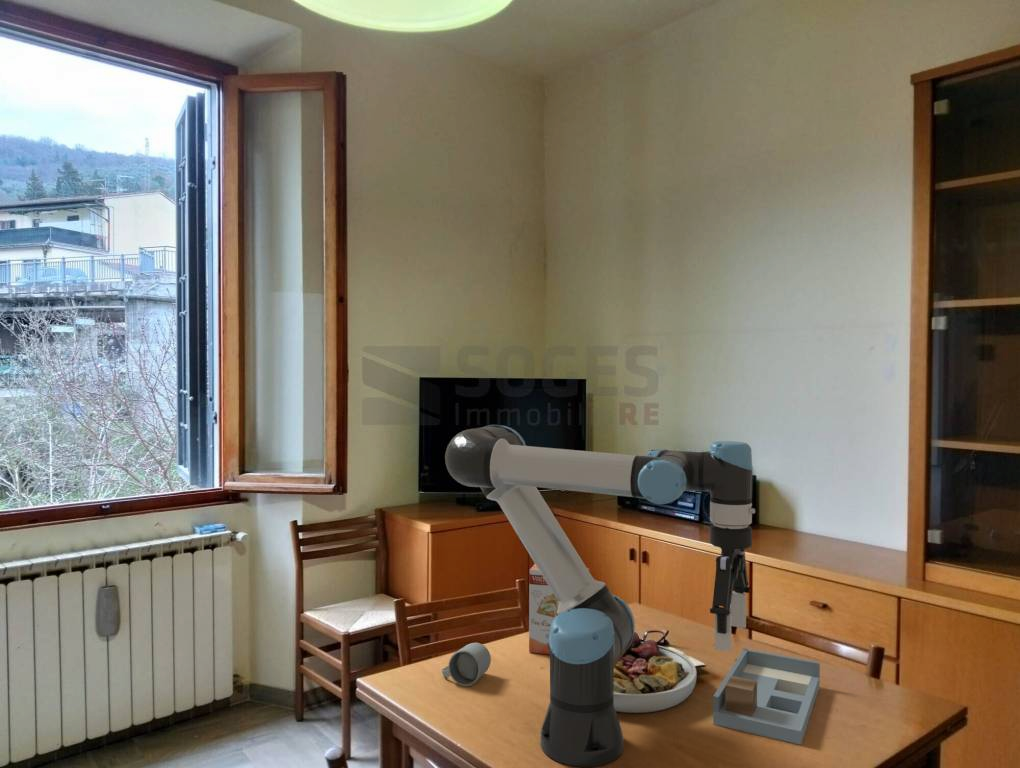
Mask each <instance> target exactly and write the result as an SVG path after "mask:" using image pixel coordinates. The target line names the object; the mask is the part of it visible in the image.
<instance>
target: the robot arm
mask: <svg viewBox="0 0 1020 768" xmlns="http://www.w3.org/2000/svg"><path fill="white" fill-rule="evenodd" d="M752 454H753V453H752V448H751V446H750V445H749V444H748V443H746V442H743V441H735V440H734V441H733V440H729V441H728V440H726V441H725V440H724V441H723V440H722V441H721V440H720V441H713V442H711V443H710V445H709V450H707V451H687V450H685V451H684V450H682V451H681V450H668V449H660V450H653V449H652V450H650V451H648V452H647V454H646V455H635V454H623V453H622V454H621V453H611V452H599V451H587V450H580V449H579V450H575V449H568V448H567V449H566V448H553V447H541V446H530V445H526V442H525V440H524V438H523V437H522V436H521V434H520V433H519V432H518V431H517V430H515V429H514V428H512V427H509V426H506V425H498V424H489V425H485V426H483V427H475V428H470V429H469V428H468V429H465V430H462V431H461V432H458V433H457V434H456V435H455V436H453V438H452V439H451V440H450V442H449V443H448V444H447V447H446V450H445V455H444V459H445V461H444V462H445V465H446V470H447V471H448V473H449V475H450V476H451V477H452V478H453V479H454V480H455V481H456V482H457V483H459V484H461V485H463V486H466V487H470V488H471V487H472V488H473V487H474V488H480V489H481V491H482V493H483V495H484V496H485V497H486V499H487V500H490V501H494V502H496V503H497V504H498V505H499V507H500V509H501V510H502V512H503V513H504V516H505V517H506V519H507V520H508V521H509V523H510V525H511V526H512V528H513V530H514V531H515V534H516V535H517V537H518V538H519V540H520V541H521V543H522V545H523V546H524V548H525V549H526V551H527V552H528V554H529V557H530V558H531V559H532V561H533V563H534V564H536V566H537V567H538V569H539V571H540V572H541V574H542V576H543V577H544V579H545V581H546V582H547V584H548V585H549V587H550V589H551V590H552V592H553V594H554V595H555V597H556V599H557V600H558V603H559V605H558V610H557V615H558V616H557V617H556V618H555V619H554V620H553V622H552V624H551V629H550V635H549V646H550V655H549V703H548V707H547V709H546V713H545V715H544V720H543V722H542V725H541V728H540V747H541V750H542V751H543V753H544V754H545V755H546V756H548V757H549V758H550V759H552V760H554V761H555V762H558V763H561V764H564V765H568V766H573V767H583V768H585V767H586V768H587V767H589V768H590V767H598V766H604V765H607V764H609V763H612V762H613V761H616V760H617V759H618V758H619V757H621V755H622V754H623V750H624V734H623V729H622V727H621V724H620V720H619V717H618V715H617V711H615V707H614V667H615V666H616V664H617V663H618V661H619V660H620V658H621V657H622V655H623V654H624V653H625V652H626V650H627V649H628V648H629V646H630V644H631V642H632V638H633V635H634V634H635V630H636V626H635V618H634V614H633V612H632V610H631V608H630V606H629V605H628V604H627V603H626V601H625V600H623V599H622V598H621V597H619V596H616V595H614V594H613V593H612V591H611V590H610V589H609V588H608V585H607V584H606V582H603V581H599V580H597V579H595V578H594V577H593V575H592V574H591V573H590V570H589V571H588V569H587V568H588V567H587V566H586V564H585V563H584V561H583V560H582V558H581V557H580V555H579V553H578V552H577V550H576V548H575V547H574V546H573V544H572V542H571V541H570V539H569V538H568V536H567V534H566V533H565V531H564V529H563V528H562V525H560V523H559V521H558V520H557V518H556V517H555V515H554V513H553V511H552V510H551V509H550V507H549V505H548V503H547V502H546V501H545V499H544V497H543V496H542V494H541V492H540V491H539V490H538V488H542V489H553V490H563V491H573V492H582V493H590V494H592V493H593V494H601V495H610V496H619V497H630V498H638V499H645V500H647V501H648V502H650V503H652V504H655V505H666V504H670V503H673V502H674V501H676V500H677V499H679V498H680V497H681V496H682V495H683V493H684V492H685V491H687V492H692V491H693V492H703V493H704V492H705V493H706V492H709V495H710V496H709V499H710V500H709V521H710V523H711V525H710V526H709V527H710V528H709V535H710V536H709V540H710V541H709V543H710V544H711V545H712V546H713V547H716V548H719V549H721V551H720V555H718V556H717V557H716V559H715V563H716V564H715V576H714V577H715V578H714V588H713V596H712V607H710V608H709V613H710V614H712V615H713V614H714V650H719V651H722V652H728V653H729V652H732V627H735V628H736V627H737V628H742V629H746V628H747V594H750V593H751V587H749V582H748V581H749V580H748V570H747V564H746V563H747V562H746V561H747V559H746V552H745V551H746V549H749V548H751V547H752V546H753V528H752V527H751V524H753V519H752V518H753V515H754V514H755V513H756V509H755V508H753V507H752V506H753V458H752V457H753V456H752Z"/></svg>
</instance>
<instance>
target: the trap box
mask: <svg viewBox="0 0 1020 768" xmlns="http://www.w3.org/2000/svg"><path fill="white" fill-rule="evenodd" d="M820 663H821V662H820V661H815V660H809V659H803V658H798V657H794V656H786V655H783V654H776V653H771V652H765V651H759V650H754V649H749V648H743V650H742V651H741V652H740V654H739V655H738V656H737V658H736V660H735V662H734V663H733V665H732V666H731V668H730V669H729V671H728V673H727V674H726V675H725V677H724V678H723V680H722V682H721V683H720V685H719V686H718V688H717V689H716V691H715V692H714V694H713V697H712V700H713V701H712V704H713V705H712V709H713V710H712V712H713V713H712V718H713V719H712V721H713V722H712V725H715V726H720V727H724V728H727V729H731V730H732V729H733V730H737V731H741V732H745V733H749V734H752V735H753V734H754V735H757V736H761V737H766V738H771V739H774V740H779V741H782V742H786V743H791V744H795V745H799V746H802V744H803V740H804V737H805V733H806V731H807V727H808V725H809V721H810V719H811V716H812V711H813V709H814V706H815V702H816V700H817V698H818V697H817V696H818V693H819V690H820V677H821V676H820V674H821V673H820V672H821V671H820V670H821V669H820V665H821V664H820ZM731 676H735V677H740V678H745V679H749V680H754V681H757V707H756V709H755V711H754V714H753V716H752V717H751V716H747V715H742V714H738V713H734V712H729V711H725V691H726V684H727V682H728V680H729V679H730V677H731Z"/></svg>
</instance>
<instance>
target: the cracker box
mask: <svg viewBox="0 0 1020 768" xmlns="http://www.w3.org/2000/svg"><path fill="white" fill-rule="evenodd" d="M586 568H587V569H588V571H589V572H590V568H589V567H586ZM528 585H529V587H528V588H529V589H528V590H529V591H528V592H529V594H528V595H529V597H528V599H529V600H528V601H529V602H528V603H529V605H528V606H529V611H528V613H529V614H528V615H529V616H528V624H529V625H528V652H529V653H532V654H543V655H549V656H550V646H549V635H550V629H551V624H552V622H553V620H554V619H555V618H556V617H557V616H558V615H557V610H558V605H559V603H558V600H557V599H556V597H555V595H554V594H553V592H552V590H551V589H550V587H549V585H548V584H547V582H546V581H545V579H544V577H543V576H542V574H541V572H540V571H539V569H538V567H537V566H536V564H535V563H534V564H533V565H532V567H531V568H530V569H529V584H528Z"/></svg>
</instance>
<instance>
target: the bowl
mask: <svg viewBox="0 0 1020 768" xmlns="http://www.w3.org/2000/svg"><path fill="white" fill-rule="evenodd" d="M697 674H698V673H697V668H696V666H695V665H694V663H693V662H692V661H691V659H689V658H688V657H687V656H685V655H684V654H682V653H680V652H678V651H677V650H674V649H672V648H669V647H666V646H662V645H659V644H658V643H657V642H656V641H655V640H653V639H647V640H645V641H641V638H640V637H639V635H637V634H636V633H634V635H633V638H632V642H631V644H630V646H629V648H628V649H627V650H626V652H625V653H624V654H623V655H622V657H621V658H620V660H619V661H618V663H617V664H616V666H615V667H614V707H615V711H616V713H617V712H619V713H629V714H630V713H631V714H632V713H633V714H635V713H636V714H638V713H639V714H641V713H642V714H643V713H654V712H659V711H663V710H666V709H670V708H672V707H675V706H677V705H679V704H681V703H682V702H684V701H685V700H686V699H687V698H689V697H690V695H691V694H692V692H693V691H694V688H695V687H696V683H697V676H698V675H697Z"/></svg>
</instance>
